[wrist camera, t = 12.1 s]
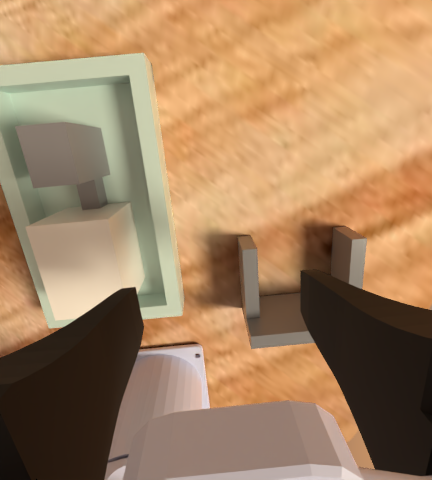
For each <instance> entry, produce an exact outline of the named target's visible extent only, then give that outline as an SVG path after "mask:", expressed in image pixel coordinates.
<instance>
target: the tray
mask: <svg viewBox="0 0 432 480" xmlns="http://www.w3.org/2000/svg"><path fill="white" fill-rule="evenodd" d="M57 122H69V123H74V124H80V125H86V126H92V127H98V128H101V131H102V136H103V140H104V145H105V150H106V155H107V160H108V165H109V170H110V175H107V176H104V177H102V178H103V183H104V188H105V192H106V197H107V202H108V204H112V203H123V202H131V204H132V210H133V215H134V220H135V226H136V231H137V236H138V242H139V247H140V252H141V258H142V263H143V268H144V273H145V279H144V281H143V283H142V285H141V287H140V290H139V292H138V294H137V296H138V301H139V305H140V310H141V315H142V319H152V318H163V317H173V316H182V314H183V306H184V299H185V298H184V291H183V283H182V276H181V269H180V262H179V255H178V248H177V241H176V233H175V226H174V219H173V212H172V205H171V198H170V191H169V183H168V176H167V169H166V162H165V155H164V148H163V141H162V133H161V126H160V119H159V112H158V105H157V98H156V91H155V83H154V76H153V69H152V65H151V63H150V61H149V60H148V58H147V57H146V55H145V54H144V53H136V54H124V55H113V56H102V57H90V58H79V59H68V60H56V61H45V62H34V63H22V64H11V65H0V183H1V186H2V189H3V192H4V195H5V198H6V201H7V204H8V207H9V210H10V213H11V216H12V219H13V222H14V225H15V228H16V231H17V234H18V237H19V240H20V243H21V246H22V249H23V252H24V255H25V258H26V261H27V264H28V267H29V270H30V273H31V276H32V279H33V282H34V285H35V288H36V291H37V294H38V297H39V300H40V303H41V306H42V309H43V312H44V315H45V318H46V321H47V324H48V327H49V328H58V327H64V326H66V325H68V324H69V323H71V322H72V321H74V320H76V319H67V320H57V321H55V318H54V315H53V312H52V309H51V306H50V302H49V299H48V296H47V293H46V290H45V287H44V284H43V281H42V278H41V275H40V271H39V268H38V265H37V262H36V259H35V256H34V253H33V250H32V247H31V243H30V240H29V237H28V234H27V231H26V228H25V227H26V226H28V225H31V224H33V223H35V222H37V221H39V220H42V219H44V218H46V217H48V216H51V215H53V214H55V213H57V212H59V211H62V210H64V209H66V208H69V207H79V206H81V202H80V198H79V194H78V190H77V186H76V184H74V185H63V186H53V187H42V188H33V185H32V182H31V178H30V175H29V171H28V168H27V165H26V161H25V158H24V155H23V151H22V148H21V145H20V141H19V138H18V135H17V131H16V128H15V126H24V125H35V124H46V123H57Z"/></svg>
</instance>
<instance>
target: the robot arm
mask: <svg viewBox="0 0 432 480" xmlns="http://www.w3.org/2000/svg"><path fill="white" fill-rule="evenodd" d="M300 312H301V314H302V317H303V319H304V322H305V324H306V327H307V329H308V331H309V333H310V335H311V337H312V338H313V340H314V342H315V343H316V345H317V347H318V349H319V350H320V352H321V354H322V355H323V357H324V359H325V361H326V362H327V364H328V366H329V367H330V369H331V371H332V372H333V374H334V376H335V378H336V380H337V382H338V384H339V386H340V388H341V390H342V392H343V394H344V396H345V399H346V401H347V403H348V405H349V407H350V410H351V412H352V414H353V417H354V419H355V421H356V424H357V426H358V428H359V431H360V433H361V435H362V438H363V440H364V443H365V445H366V447H367V450H368V453H369V455H370V458H371V460H372V463H373V465H374V468H375V469H369V468H361V467H357V465H356V463H355V461H354V458H353V456H352V454H351V452H350V450H349V448H348V446H347V444H346V441H345V439H344V437H343V435H342V433H341V431H340V429H339V427H338V425H337V422H336V420H335V418H334V416H333V415H331V414H330V413H328V412H327V411H326V410H324V409H323V408H321V407H320V406H318V405H317V404H315V403H309V402H299V401H289V400H286V401H276V402H266V403H256V404H247V405H237V406H227V407H217V408H210V404H209V396H208V388H207V380H206V372H205V364H204V356H203V348H202V346H201V345H199V344H191V345H180V346H170V347H160V348H149V349H140V345H141V340H142V335H143V329H144V325H143V320H142V315H141V310H140V305H139V301H138V296H137V291H136V287H131V288H122V289H120V290H118V291H116V292H115V293H113V294H112V295H110V296H109V297H107V298H106V299H105V300H103V301H102V302H100V303H99V304H98V305H96V306H95V307H93V308H92V309H91V310H89V311H88V312H86V313H85V314H83V315H82V316H80V317H79V318H77V319H76V320H74V321H72V322H71V323H69V324H68V325H66V326H64V327H63V328H61V329H59V330H58V331H56V332H54V333H52V334H50V335H49V336H47V337H45V338H43V339H41V340H39V341H37V342H35V343H33V344H30V345H28V346H26V347H24V348H22V349H20V350H18V351H15V352H13V353H11V354H9V355H6V356H4V357H1V358H0V480H432V310H428V309H424V308H419V307H415V306H411V305H407V304H404V303H400V302H397V301H394V300H391V299H387V298H384V297H381V296H378V295H376V294H373V293H370V292H368V291H365V290H363V289H360V288H358V287H355V286H353V285H351V284H348V283H346V282H344V281H342V280H339V279H337V278H335V277H333V276H331V275H328V274H326V273H324V272H321V271H319V270H315V269H313V270H303V271H301V293H300ZM196 354H200V355H196Z"/></svg>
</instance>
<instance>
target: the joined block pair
mask: <svg viewBox="0 0 432 480" xmlns="http://www.w3.org/2000/svg"><path fill="white" fill-rule="evenodd" d="M15 128H16V131H17V135H18V138H19V141H20V145H21V148H22V151H23V155H24V158H25V161H26V165H27V168H28V171H29V175H30V178H31V182H32V185H33V188H42V187H53V186H63V185H74V184H76V186H77V190H78V194H79V198H80V202H81V206H79V207H69V208H66V209H64V210H62V211H59V212H57V213H55V214H53V215H51V216H48V217H46V218H44V219H42V220H39V221H37V222H35V223H33V224H31V225H28V226H26V227H25V228H26V231H27V234H28V237H29V240H30V243H31V247H32V250H33V253H34V256H35V259H36V262H37V265H38V268H39V271H40V275H41V278H42V281H43V284H44V287H45V290H46V293H47V296H48V299H49V302H50V306H51V309H52V312H53V315H54V318H55V321H57V320H67V319H77V318H79V317H80V316H82V315H83V314H85V313H86V312H88V311H89V310H91V309H92V308H93V307H95V306H96V305H98V304H99V303H100V302H102V301H103V300H105V299H106V298H107V297H109V296H110V295H112V294H113V293H115V292H116V291H118V290H120V289H122V288H131V287H136V291H137V294H138V292H139V290H140V287H141V285H142V283H143V281H144V279H145V273H144V268H143V263H142V258H141V252H140V247H139V242H138V236H137V231H136V226H135V220H134V215H133V210H132V204H131V202H123V203H112V204H108V202H107V197H106V192H105V188H104V183H103V178H102V177H104V176H107V175H110V170H109V165H108V160H107V155H106V150H105V145H104V140H103V136H102V131H101V128H98V127H92V126H86V125H80V124H74V123H69V122H57V123H46V124H35V125H24V126H15Z"/></svg>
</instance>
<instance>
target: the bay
mask: <svg viewBox="0 0 432 480" xmlns="http://www.w3.org/2000/svg"><path fill="white" fill-rule="evenodd" d="M237 237H238V252H239V268H240V283H241V299H242V310H243V314H244V319H245V323H246V328H247V332H248V336H249V341H250V345H251V349H255V348H265V347H276V346H286V345H296V344H307V343H315V342H314V340H313V338H312V337H311V335H310V333H309V331H308V329H307V327H306V324H305V322H304V319H303V317H302V314H301V312H300V293H301V292H300V293H290V294H279V295H269V296H259V283H258V258H257V247H256V246H255V244H254V242H253V240H252V238H251V236H250V235H247V236H237ZM366 243H367V238H365V237H364V236H362V235H360V234H358V233H357V232H355V231H353V230H351V229H350V228H348V227H346V226H343V227H333V237H332V256H331V276H333V277H335V278H337V279H339V280H342V281H344V282H346V283H348V284H351V285H353V286H355V287H358V288H360V289H362V285H363V274H364V264H365V253H366Z"/></svg>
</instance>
